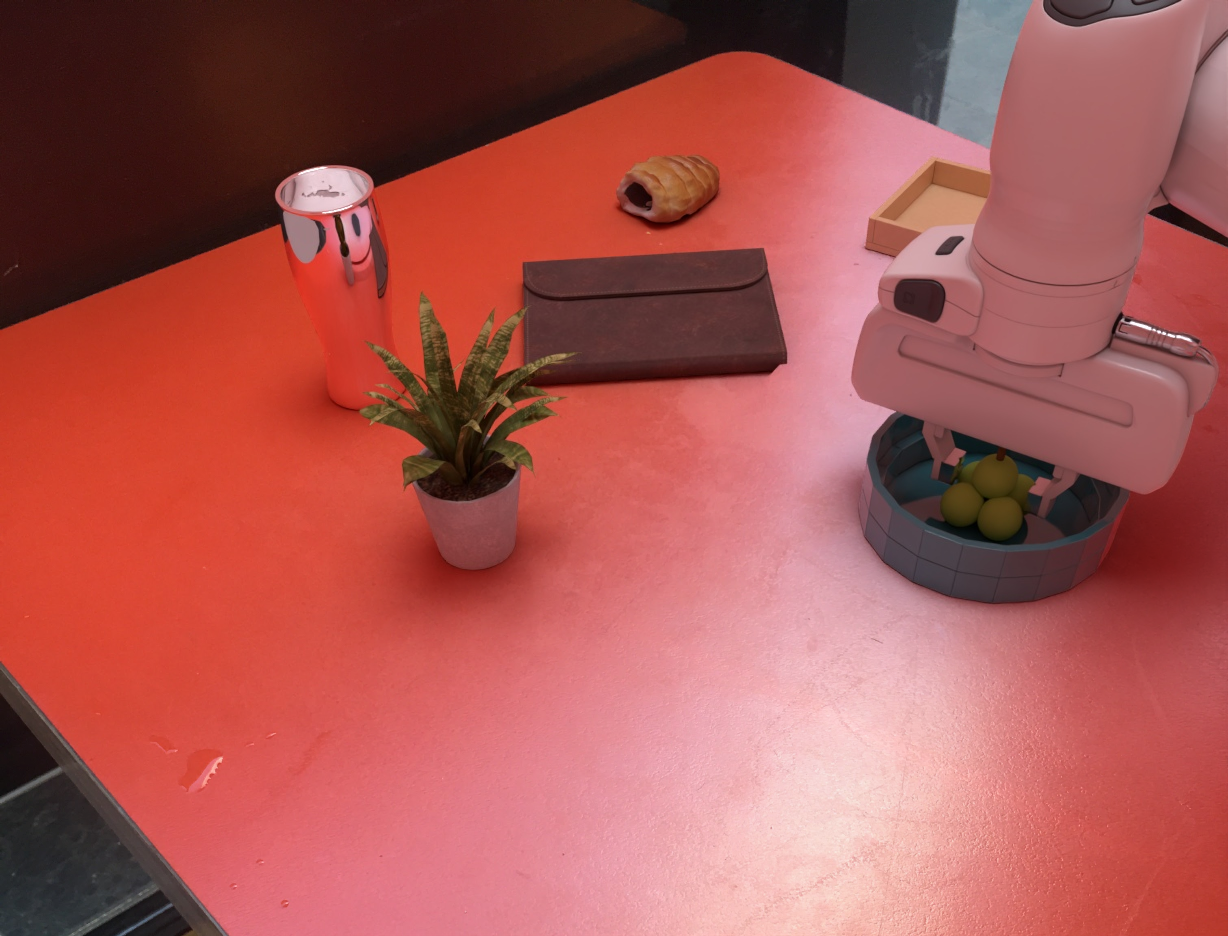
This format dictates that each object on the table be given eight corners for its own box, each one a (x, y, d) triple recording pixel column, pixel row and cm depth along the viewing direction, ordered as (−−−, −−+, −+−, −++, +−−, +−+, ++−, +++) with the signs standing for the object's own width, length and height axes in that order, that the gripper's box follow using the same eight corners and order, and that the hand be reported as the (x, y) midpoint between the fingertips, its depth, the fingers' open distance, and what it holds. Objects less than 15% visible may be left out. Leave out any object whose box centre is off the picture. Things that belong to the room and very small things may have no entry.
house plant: (532, 654, 76) (505, 430, 63) (335, 605, 79) (270, 383, 66) (612, 511, 84) (602, 286, 71) (429, 472, 87) (388, 249, 74)
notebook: (786, 372, 93) (788, 348, 91) (526, 388, 93) (523, 364, 91) (761, 267, 102) (763, 244, 100) (524, 281, 102) (522, 258, 100)
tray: (1092, 229, 104) (1101, 199, 102) (1037, 298, 98) (1045, 266, 96) (927, 185, 109) (932, 155, 107) (864, 248, 103) (868, 217, 101)
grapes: (1039, 508, 81) (1062, 433, 77) (1007, 555, 79) (1028, 480, 74) (963, 481, 83) (981, 407, 79) (929, 526, 81) (945, 452, 76)
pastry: (685, 169, 112) (686, 126, 109) (739, 195, 109) (741, 151, 106) (610, 207, 109) (608, 163, 106) (662, 235, 106) (663, 190, 103)
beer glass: (364, 350, 97) (322, 154, 85) (432, 378, 94) (398, 179, 82) (303, 395, 93) (249, 197, 81) (371, 425, 91) (326, 225, 79)
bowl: (1142, 500, 83) (1167, 437, 79) (1051, 647, 75) (1072, 585, 71) (921, 425, 88) (933, 363, 84) (815, 554, 81) (823, 492, 77)
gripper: (1249, 318, 66) (1165, 520, 77) (902, 222, 74) (871, 419, 85) (1211, 377, 63) (1130, 579, 74) (854, 270, 70) (828, 469, 82)
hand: (990, 493), depth 80 cm, fingers closed on grapes, 5 cm apart
